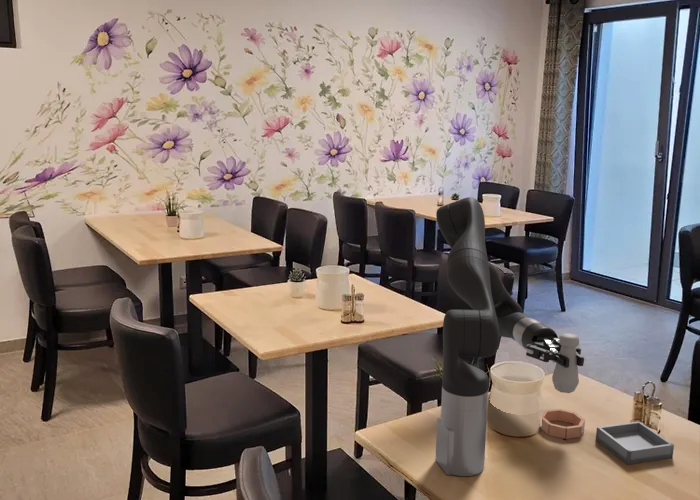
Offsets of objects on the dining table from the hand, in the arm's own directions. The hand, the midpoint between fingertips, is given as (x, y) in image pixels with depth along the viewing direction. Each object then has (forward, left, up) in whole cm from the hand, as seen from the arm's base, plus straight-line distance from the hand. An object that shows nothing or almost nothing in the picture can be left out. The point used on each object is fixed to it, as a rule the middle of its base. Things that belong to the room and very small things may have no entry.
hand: (574, 362), depth 150 cm
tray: (+10, -9, -17) cm, 22 cm away
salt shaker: (0, +3, -8) cm, 8 cm away
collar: (0, +3, -17) cm, 17 cm away
